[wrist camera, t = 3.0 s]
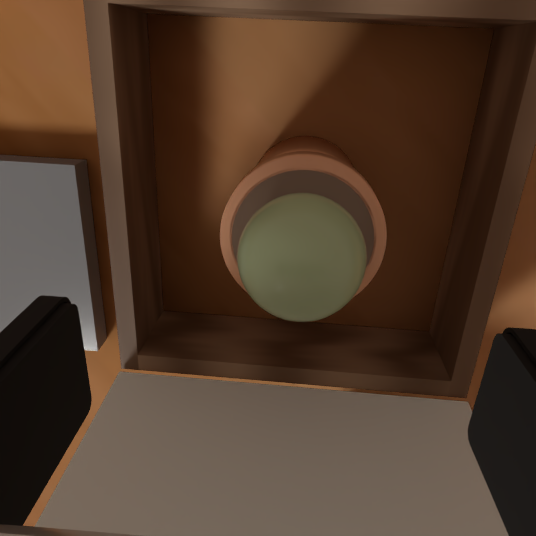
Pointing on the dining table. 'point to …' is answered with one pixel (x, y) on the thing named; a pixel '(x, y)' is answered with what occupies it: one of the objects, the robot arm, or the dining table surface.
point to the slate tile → (49, 240)
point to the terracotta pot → (303, 230)
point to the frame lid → (272, 464)
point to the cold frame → (308, 333)
